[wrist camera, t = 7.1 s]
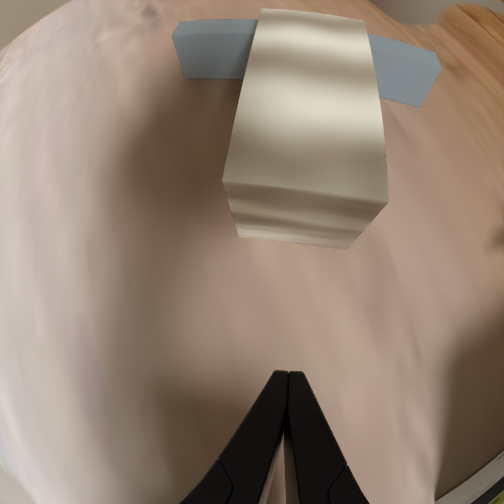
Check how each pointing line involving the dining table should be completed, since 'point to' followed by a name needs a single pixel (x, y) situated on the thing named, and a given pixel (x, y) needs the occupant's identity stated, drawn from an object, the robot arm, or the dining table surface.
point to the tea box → (480, 486)
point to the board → (240, 42)
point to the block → (307, 133)
